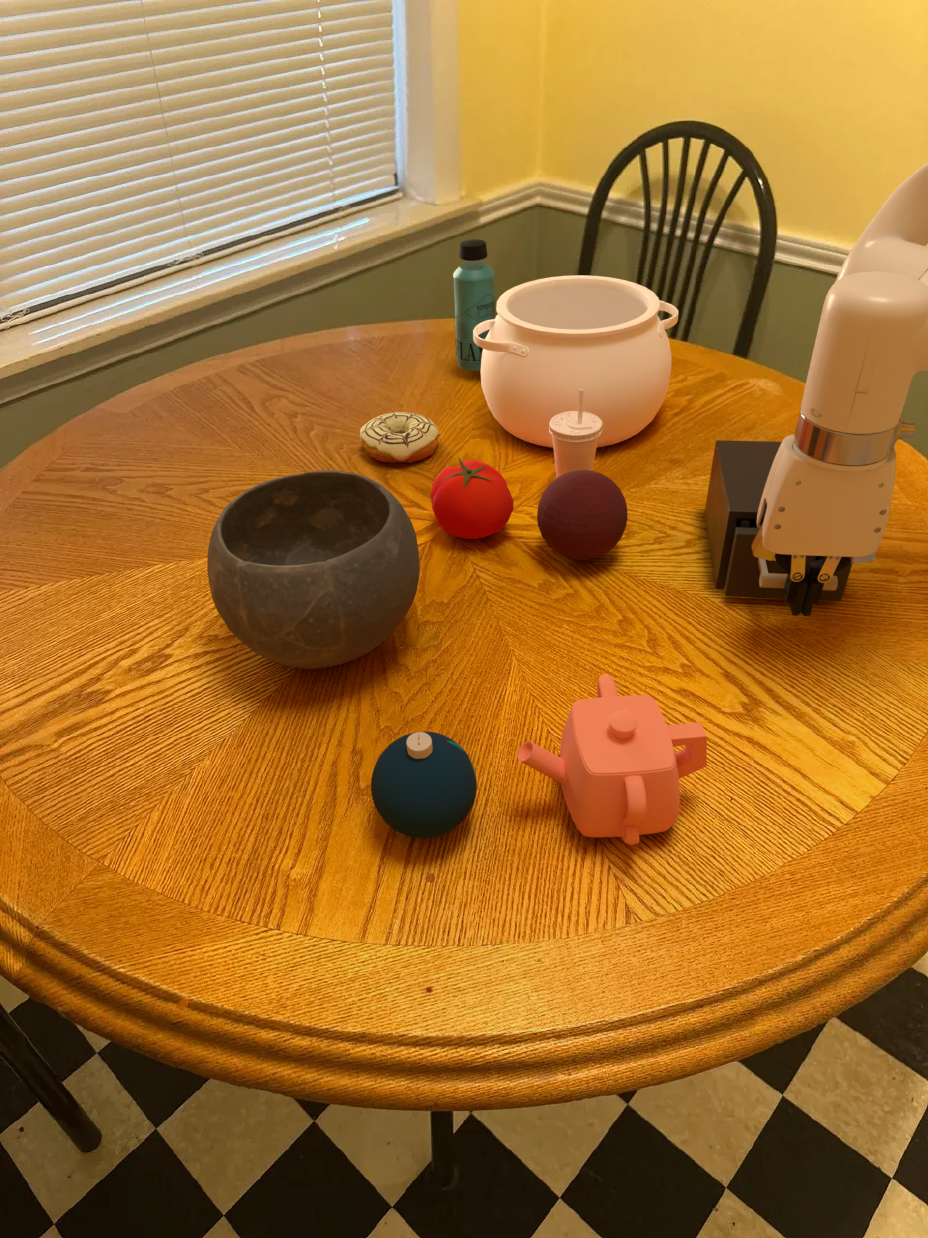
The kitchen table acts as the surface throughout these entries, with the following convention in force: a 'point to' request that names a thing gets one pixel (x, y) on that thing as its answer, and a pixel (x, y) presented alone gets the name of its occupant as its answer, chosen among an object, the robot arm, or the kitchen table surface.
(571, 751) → the teapot
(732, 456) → the cabinet
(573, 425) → the smoothie
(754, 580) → the drawer
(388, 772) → the christmas ornament
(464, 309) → the beverage bottle
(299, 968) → the kitchen table surface
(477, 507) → the tomato
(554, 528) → the decorative ball
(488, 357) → the pot
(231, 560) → the bowl
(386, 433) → the decorated donut
